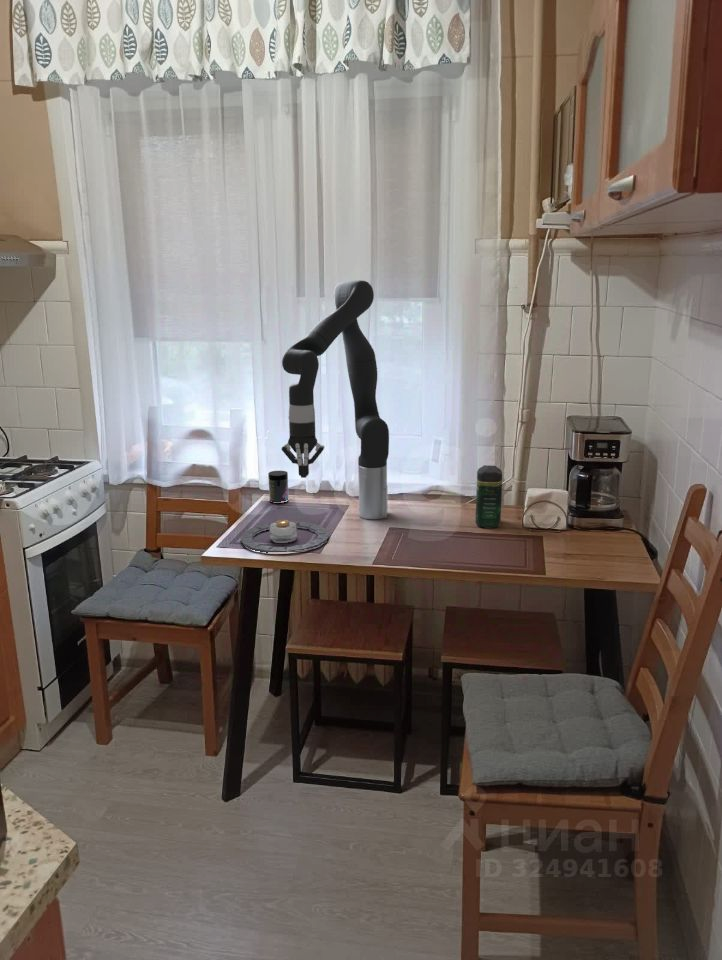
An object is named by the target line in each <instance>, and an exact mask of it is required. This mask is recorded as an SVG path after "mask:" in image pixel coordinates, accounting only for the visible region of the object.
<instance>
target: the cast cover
mask: <svg viewBox="0 0 722 960" xmlns="http://www.w3.org/2000/svg"><path fill="white" fill-rule="evenodd" d="M294 522H295V521H290V520H288V519H278V520H276V522H271V523H272V524H271V525H270V530H269V536H270V537H269V539H270V538H271V539H272V540H276V541H287V540H291V539H294V538H295V537H297V538H298V534H297V533H298V532H297V528H296V524H295V523H294Z"/></svg>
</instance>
